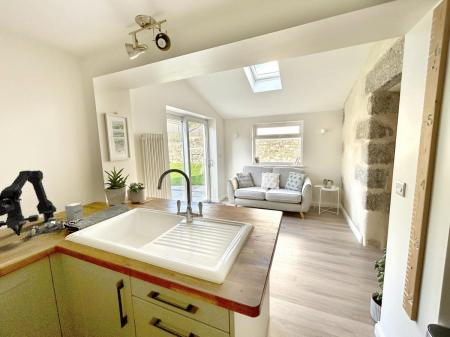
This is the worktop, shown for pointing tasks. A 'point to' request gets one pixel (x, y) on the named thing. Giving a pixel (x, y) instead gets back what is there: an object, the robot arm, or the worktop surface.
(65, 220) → the knob
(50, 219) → the knob
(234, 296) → the worktop surface
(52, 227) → the tribrach
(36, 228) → the knob
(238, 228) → the worktop surface
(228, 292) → the worktop surface
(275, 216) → the worktop surface
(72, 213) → the supplement box
